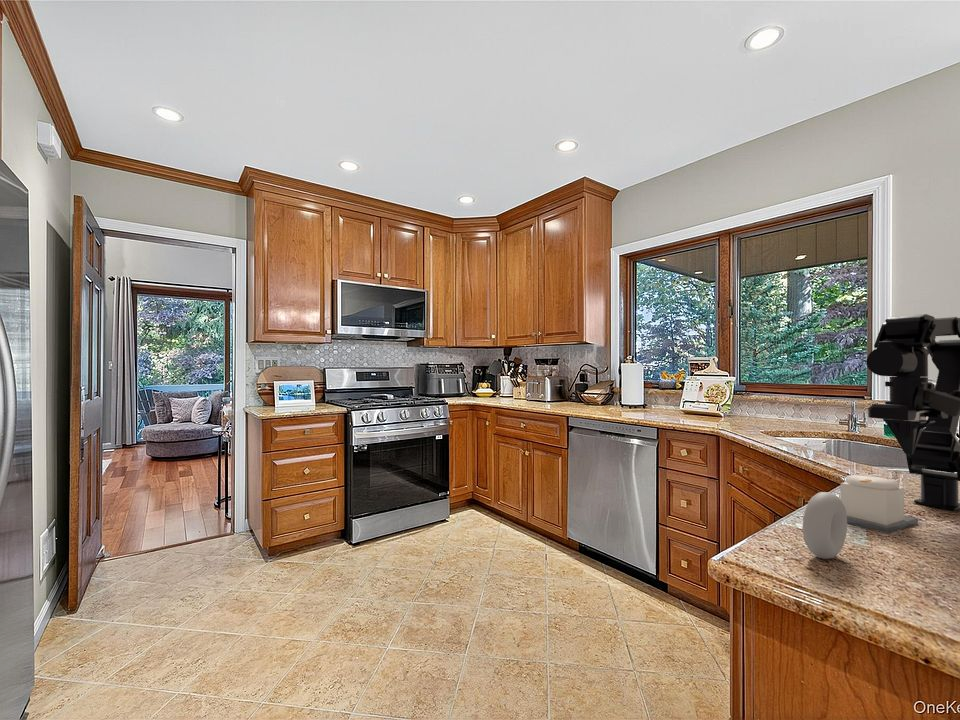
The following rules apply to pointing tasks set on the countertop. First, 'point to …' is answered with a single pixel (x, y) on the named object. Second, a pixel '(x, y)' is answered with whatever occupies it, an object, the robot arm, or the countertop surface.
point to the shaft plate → (883, 528)
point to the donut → (825, 525)
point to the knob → (873, 499)
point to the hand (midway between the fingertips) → (909, 454)
